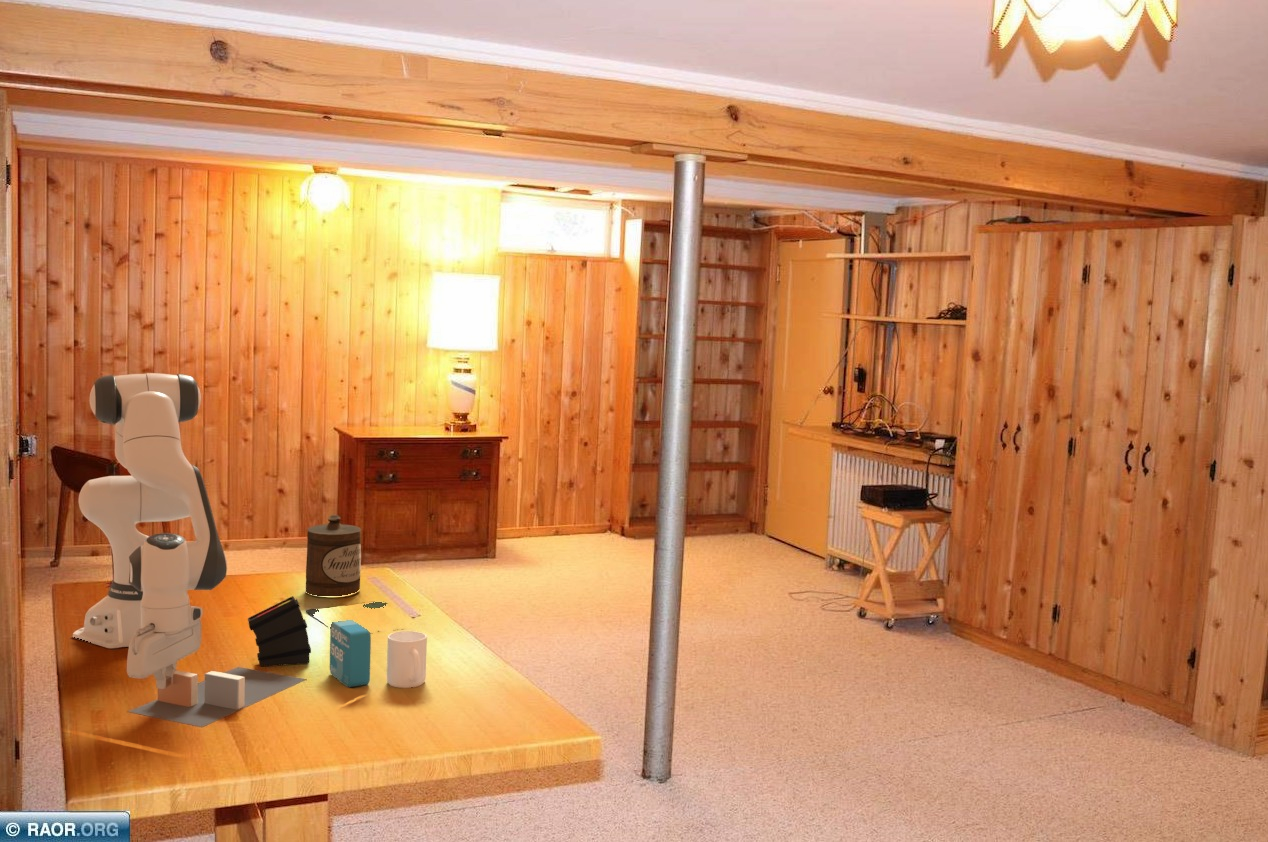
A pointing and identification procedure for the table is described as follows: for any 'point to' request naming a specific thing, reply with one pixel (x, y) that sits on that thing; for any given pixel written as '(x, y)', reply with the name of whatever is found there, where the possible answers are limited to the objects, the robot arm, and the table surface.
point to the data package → (350, 653)
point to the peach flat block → (181, 690)
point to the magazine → (281, 634)
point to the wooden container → (333, 559)
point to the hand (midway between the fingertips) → (164, 686)
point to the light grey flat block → (224, 690)
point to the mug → (406, 659)
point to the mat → (204, 714)
